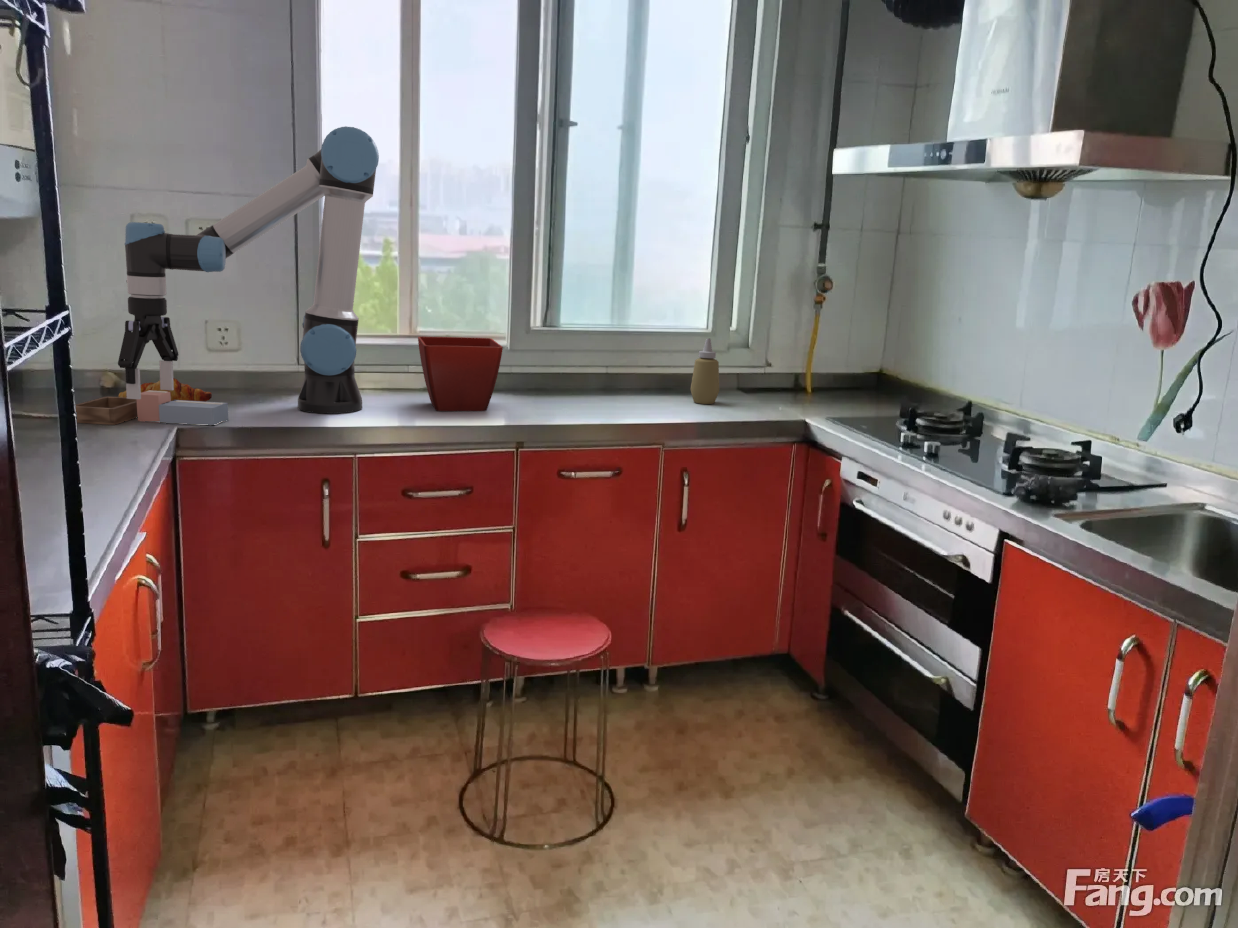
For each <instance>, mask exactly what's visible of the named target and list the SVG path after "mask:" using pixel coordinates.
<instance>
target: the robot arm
mask: <svg viewBox="0 0 1238 928" xmlns="http://www.w3.org/2000/svg"><path fill="white" fill-rule="evenodd" d="M379 157H380V155H379V150H378V147H377V144H376V142H375V141H374V139H373V138H372V137H371V136H370V135H369V134H368V133H367V132H366V131H364V130H362V129H360V128H357V127H354V126H346V125H345V126H340V127H337V128H335V129H332V130H331V131H330V132H329V133H328V134H327V135H326V136H325V137H324V138H323V142H322V143H321V147H320V150H319V151H318V152H316V153H315V154H313V155H312V156H310V157H308V158H307V160H306V164H305V166H303V167H302V168H300V169H299V170H296V172H293V174H291V175H289V176H287V177H286V178H285V179H283V180H281V181H280V182H278V183H277V184H276V183H275V184H274V185H273V186H272V187H270V188H269V189H267V190H266V191H264V192H263V193H261V194H259V195H257V196H255V197H254V198H253V199H251V200H250V201H248V202H246V203H245V204H243V205H242V206H240V207H239V208H236V210H234V211H232V212H231V213H229V214H228V215H226V216H224V217H223V218H222V219H220V220H218V221H216V222H215V223H214V224H212V225H210V226H209V227H207V228H205V229H203V230H202V231H200V232H198V234H195V235H194V234H176V233H174V234H172V233H168V232H166V231H165V228H164V225H163V224H162V223H154V222H153V223H151V222H137V221H131V222H128V223H126V225H125V234H124V235H125V239H124V241H125V242H124V248H125V264H126V265H125V266H126V284H127V285H126V286H127V294H128V295H130V296H128V298H127V312H128V313H129V315H131V316H134V320H125V322H124V334H123V337H122V343H121V348H120V353H119V356H118V361H117V365H118V367H119V368H120V369H124V370H125V389H126V390H125V391H126V393H127V399H141V387H140V385H141V369H140V368H138V366H139V363H140V360H141V358H142V355H143V352H144V350H145V347H146V345H147V344H148V343H150V341H152V344H153V345H154V347H155V349H156V351H157V353H158V354H159V357H160V358H161V360H159V361H158V362H159V380H160V390H174V383H173V378H174V364H173V363H174V362H178V359H179V351H178V348H177V344H176V341H175V338H174V334H173V331H172V327H171V319H170V317H168V316H166V315H167V314H168V306H167V305H168V302H167V299H166V296H167V282H166V279H167V278H166V270H177V271H178V270H179V271H189V272H190V271H193V272H195V271H196V272H204V273H213V272H217V273H218V272H219V273H221V272H223V271H224V270H225V267H226V261H227V260H226V259H228V258H230V257H231V256H233V254H235V253H237V252H238V251H240V250H241V249H243V248H244V247H246V246H248V245H250V244H251V243H252V242H254V241H256V240H257V239H259V238H260V237H262V236H263V235H265V234H267V233H268V232H270V231H272V230H274V229H275V228H276V227H278V226H279V225H281V224H283V223H284V222H286V221H287V220H289V219H290V218H291V217H293V216H295V215H296V214H298V213H301V211H303V210H304V209H306V208H308V207H309V206H312V205H313V204H314V203H315V202H317V201H319V200H320V199H322V198H324V201H323V212H322V221H321V230H320V239H319V249H318V258H317V259H318V260H317V266H316V267H317V268H316V277H315V284H314V295H313V304H312V305H311V306H309V307H308V308H307V309H305V313H304V315H303V317H302V318H303V321H302V325H301V326H302V328H303V331H302V339H301V342H300V346H299V347H300V348H299V349H300V350H299V351H300V354H301V359H302V360H303V363H304V364H303V365H304V377H303V381H302V385H301V388H300V392H299V395H298V398H297V409H298V410H299V411H303V412H308V413H315V414H316V413H318V414H341V413H343V414H345V413H352V412H358V411H360V410H362V409H363V397H362V395H361V393H360V392H361V391H360V389H359V386H358V383H357V379H356V377H355V376H356V374H355V372H356V371H355V359H356V357H357V348H356V346H357V337H358V327H359V319H360V318H359V317H358V315H357V314H356V312H355V311H354V302H355V293H356V283H357V276H358V267H359V259H360V251H361V250H360V249H361V240H362V233H363V224H364V213H365V206H366V203H367V201H369V200H370V199H372V198H373V197H374V192H375V191H374V189H375V181H376V174H377V173H376V171H377V168H378V165H379Z"/></svg>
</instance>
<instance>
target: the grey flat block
mask: <svg viewBox="0 0 1238 928" xmlns="http://www.w3.org/2000/svg"><path fill="white" fill-rule="evenodd" d="M228 404H229V403H228V402H221V401H220V402H217V401H206V402H203V401H186V400H173V401H170V402H166V403H162V404H160V405H159V417H160V422H166V423H187V424H208V425H214V424H217V423H219V422H221V421H226V420H228V421H229V405H228ZM160 422H159V423H160ZM226 422H227V421H226ZM166 423H165V424H166Z"/></svg>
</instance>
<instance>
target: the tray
mask: <svg viewBox="0 0 1238 928" xmlns="http://www.w3.org/2000/svg"><path fill="white" fill-rule="evenodd" d="M75 405H76V412H77V424H89V425H91V424H92V425H93V424H94V425H108V426H109V425H111V426H115V425H119V424H121V423H125V422H128V421H131V419H132V420H135V419H137V418H136V417H138V416H137V400H136V399H127V398H125V397H119V396H107V395H106V396H103V397H98V398H96V399H92V400H88V401H87V400H86V401H84V402H80V403H76V404H75ZM134 418H135V419H134ZM124 421H125V422H124Z"/></svg>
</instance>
